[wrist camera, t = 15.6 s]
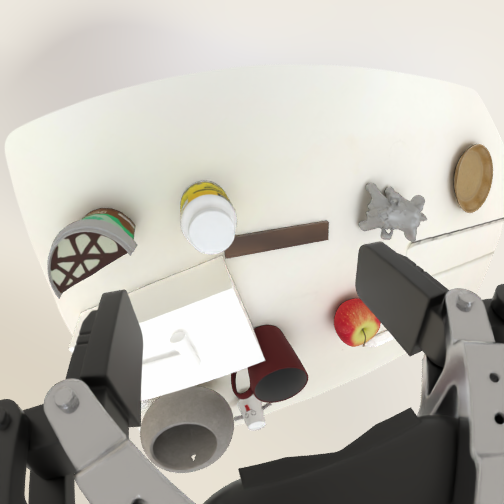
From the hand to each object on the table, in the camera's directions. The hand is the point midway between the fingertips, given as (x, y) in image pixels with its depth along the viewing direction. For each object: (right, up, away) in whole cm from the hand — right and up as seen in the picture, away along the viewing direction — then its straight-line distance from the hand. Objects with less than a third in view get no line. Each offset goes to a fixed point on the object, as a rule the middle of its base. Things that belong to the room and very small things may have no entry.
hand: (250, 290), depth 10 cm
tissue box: (-14, -10, +36) cm, 40 cm away
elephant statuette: (+22, +9, +36) cm, 43 cm away
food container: (-21, +5, +27) cm, 34 cm away
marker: (+31, -17, +51) cm, 62 cm away
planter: (-14, -26, +44) cm, 53 cm away
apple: (+18, -9, +44) cm, 48 cm away
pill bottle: (-6, +8, +29) cm, 31 cm away
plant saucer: (+45, +17, +38) cm, 61 cm away
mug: (+1, -15, +42) cm, 45 cm away
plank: (+4, +3, +34) cm, 34 cm away
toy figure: (-1, -29, +49) cm, 57 cm away
